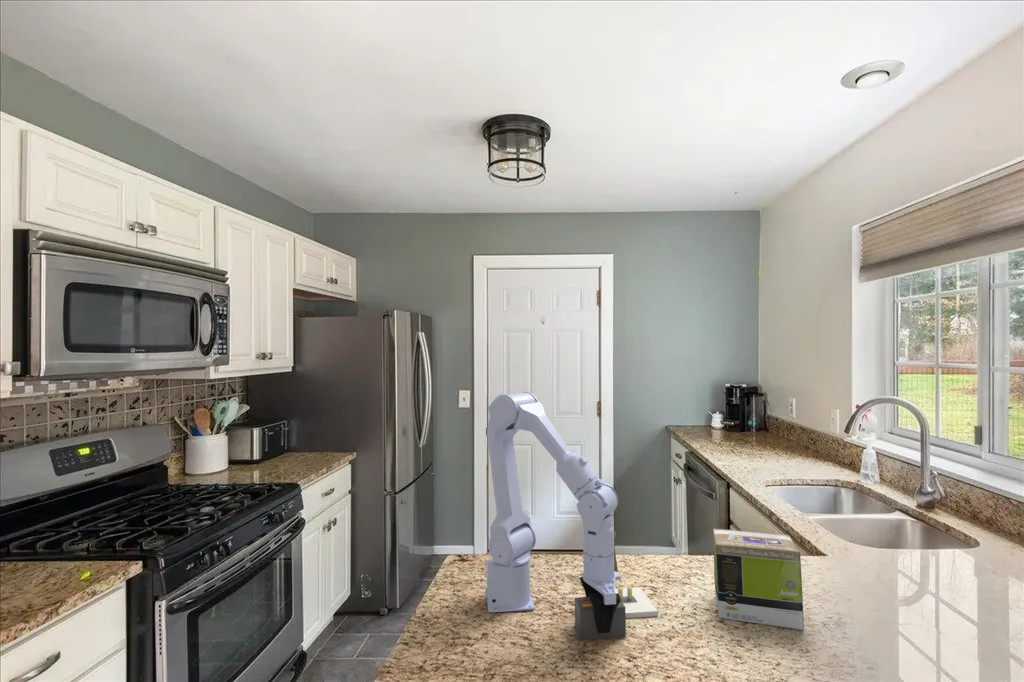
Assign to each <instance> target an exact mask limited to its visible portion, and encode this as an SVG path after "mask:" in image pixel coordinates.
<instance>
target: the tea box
mask: <svg viewBox="0 0 1024 682" xmlns="http://www.w3.org/2000/svg"><path fill="white" fill-rule="evenodd" d="M712 542H713V543H712V547H713V549H712V550H713V569H714V571H713V575H714V577H713V578H714V591H715V592H714V593H715V594H714V595H715V598H716V605H717V614H718V618H719V619H725V620H726V619H727V620H732V621H738V622H739V621H740V622H745V623H753V624H760V625H765V626H766V625H767V626H775V627H780V628H788V629H793V630H799V631H800V630H801V631H804V630H805V623H804V622H805V621H804V619H805V618H804V602H803V601H804V600H803V599H804V598H803V579H802V561H801V552H800V551H799V549H798V547H797V545H796V544H795V543H794V541H793V540H792V538H791V536H790V535H789V534H783V533H768V532H757V531H747V530H746V531H745V530H735V529H733V530H732V529H722V528H713V529H712Z"/></svg>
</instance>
